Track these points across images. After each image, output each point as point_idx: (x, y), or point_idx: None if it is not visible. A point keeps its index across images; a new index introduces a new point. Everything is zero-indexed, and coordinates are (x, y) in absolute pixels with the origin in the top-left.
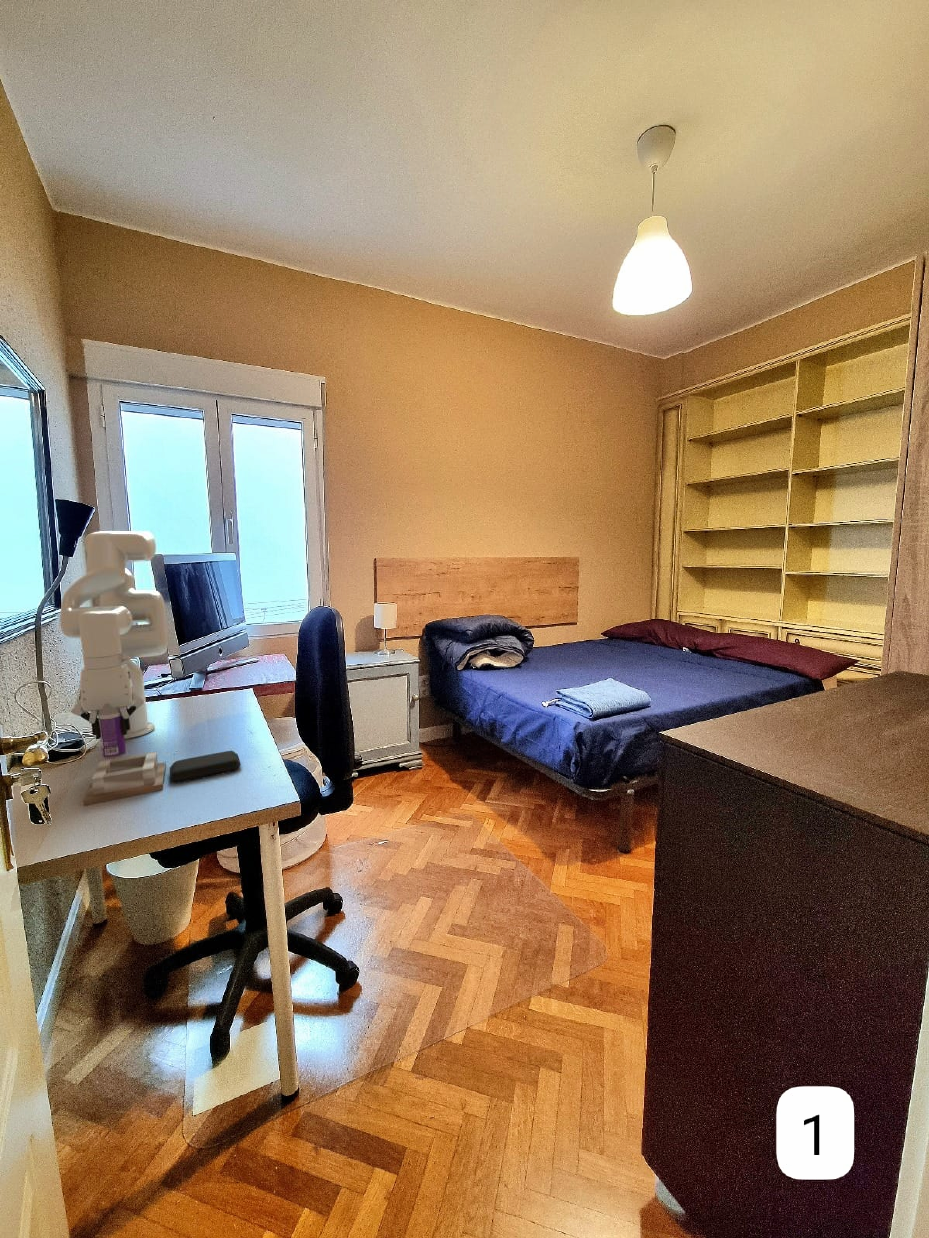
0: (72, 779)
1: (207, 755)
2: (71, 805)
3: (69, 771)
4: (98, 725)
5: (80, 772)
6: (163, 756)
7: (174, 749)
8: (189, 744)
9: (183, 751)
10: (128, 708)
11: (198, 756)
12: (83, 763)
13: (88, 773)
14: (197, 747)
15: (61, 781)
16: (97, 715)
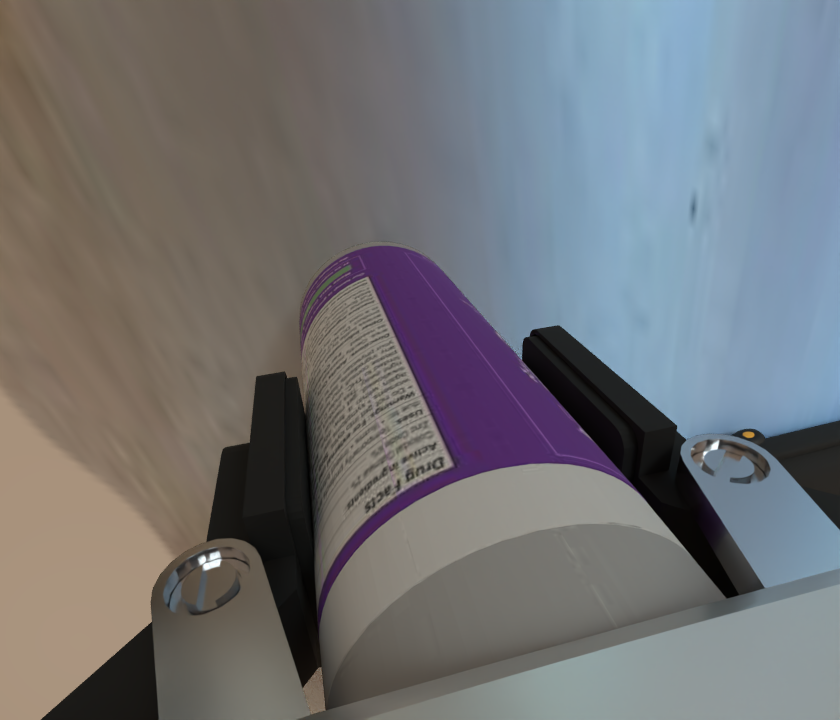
0: (157, 425)
1: (836, 487)
2: (309, 686)
3: (35, 261)
4: None
5: (147, 317)
6: (632, 219)
7: (705, 87)
8: (807, 8)
9: (744, 171)
10: (824, 518)
11: (801, 476)
12: (54, 93)
13: (220, 356)
14: (827, 125)
15: (95, 436)
16: (276, 607)
